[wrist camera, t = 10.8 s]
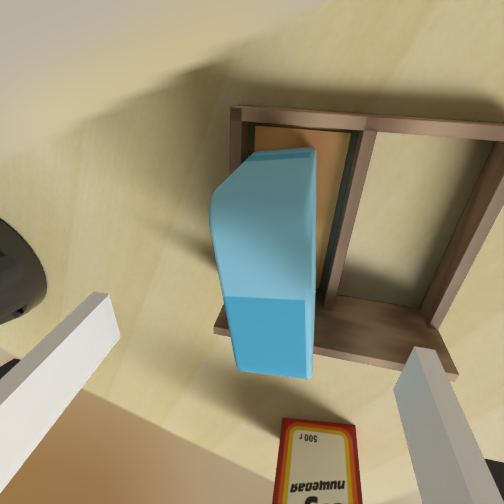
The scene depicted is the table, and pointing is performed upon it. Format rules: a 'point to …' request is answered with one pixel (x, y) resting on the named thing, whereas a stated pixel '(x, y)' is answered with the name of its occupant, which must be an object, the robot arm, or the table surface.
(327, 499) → the baking soda box
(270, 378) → the table surface
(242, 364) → the blue rounded block
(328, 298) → the rack
